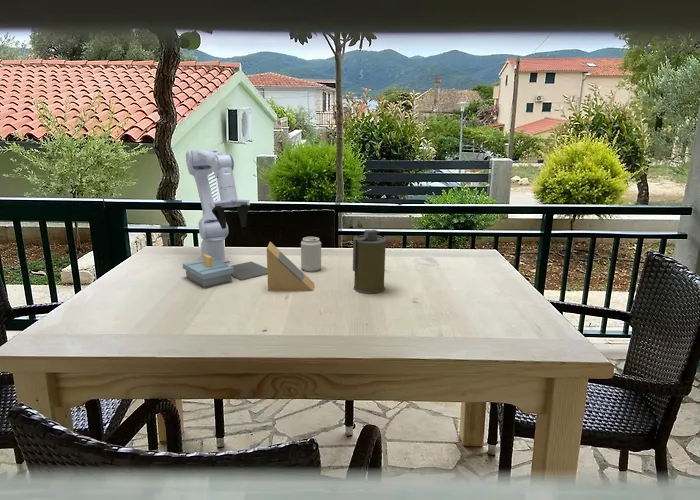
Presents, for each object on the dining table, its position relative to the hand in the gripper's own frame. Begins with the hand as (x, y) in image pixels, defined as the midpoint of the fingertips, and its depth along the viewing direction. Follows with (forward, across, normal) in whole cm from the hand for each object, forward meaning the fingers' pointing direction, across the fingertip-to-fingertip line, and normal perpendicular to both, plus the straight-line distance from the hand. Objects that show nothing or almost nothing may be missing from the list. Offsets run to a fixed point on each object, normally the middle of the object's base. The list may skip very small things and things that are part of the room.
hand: (234, 227), depth 178 cm
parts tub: (+16, -8, +11) cm, 21 cm away
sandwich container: (+24, +11, -12) cm, 29 cm away
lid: (+13, -8, +9) cm, 18 cm away
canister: (+29, +30, -29) cm, 51 cm away
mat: (+15, +8, +10) cm, 20 cm away
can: (+19, +28, -2) cm, 33 cm away
